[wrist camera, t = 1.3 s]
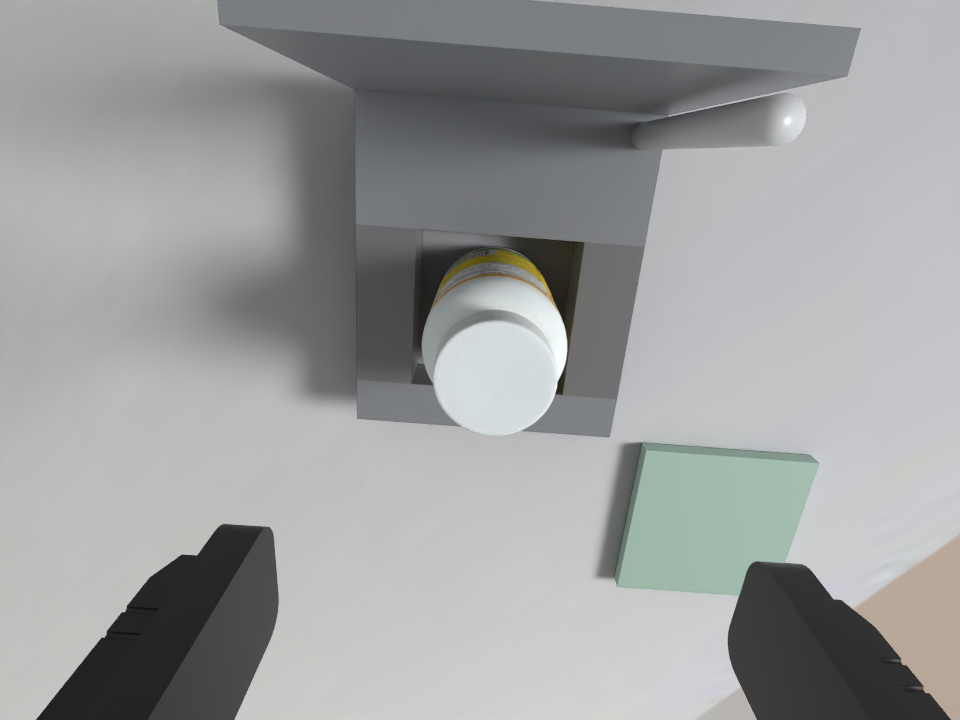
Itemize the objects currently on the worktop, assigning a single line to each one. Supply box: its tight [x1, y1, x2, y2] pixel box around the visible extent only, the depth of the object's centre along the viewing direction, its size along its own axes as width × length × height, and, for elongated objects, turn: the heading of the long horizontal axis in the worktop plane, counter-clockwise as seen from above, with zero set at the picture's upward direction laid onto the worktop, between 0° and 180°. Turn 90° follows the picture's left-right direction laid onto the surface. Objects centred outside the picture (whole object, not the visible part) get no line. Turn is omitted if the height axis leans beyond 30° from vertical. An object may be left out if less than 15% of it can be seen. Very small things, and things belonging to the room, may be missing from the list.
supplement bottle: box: [422, 247, 567, 435], centre depth 21 cm, size 5×5×10 cm
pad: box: [614, 443, 819, 596], centre depth 30 cm, size 9×9×1 cm
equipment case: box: [217, 0, 861, 437], centre depth 19 cm, size 15×12×14 cm
